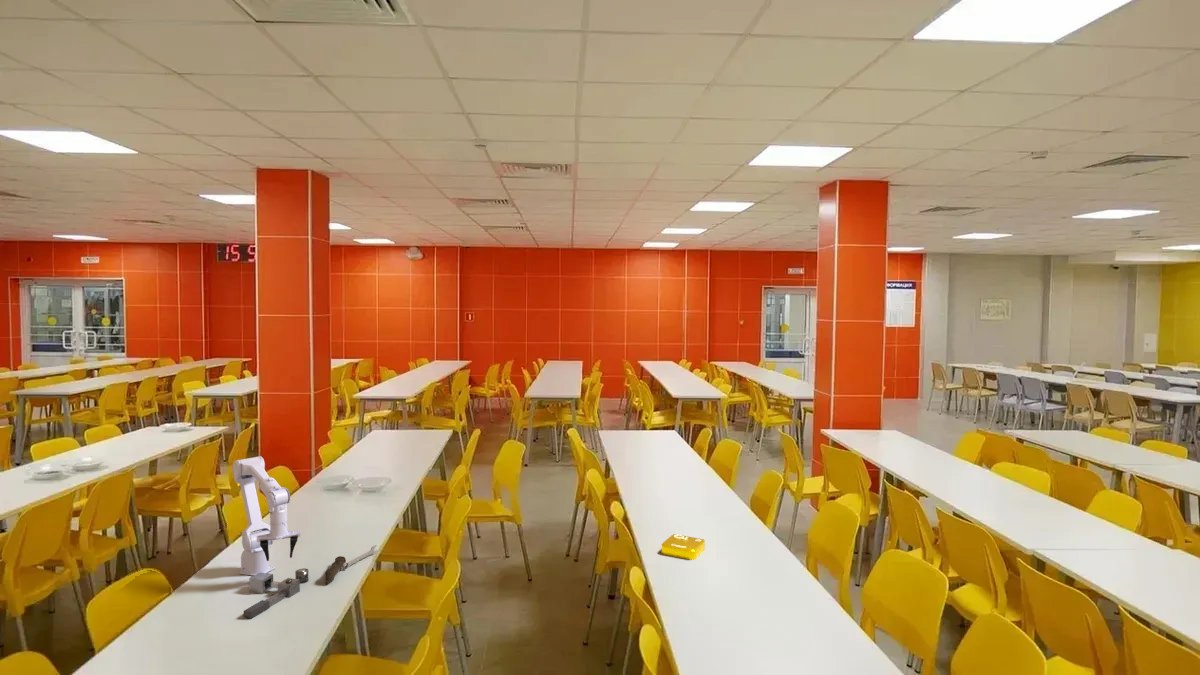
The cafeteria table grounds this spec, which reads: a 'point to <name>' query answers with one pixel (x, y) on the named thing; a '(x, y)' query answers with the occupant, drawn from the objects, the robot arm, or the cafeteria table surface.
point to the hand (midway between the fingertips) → (279, 558)
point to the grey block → (260, 583)
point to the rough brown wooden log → (334, 569)
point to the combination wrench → (359, 558)
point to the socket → (302, 575)
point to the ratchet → (274, 597)
